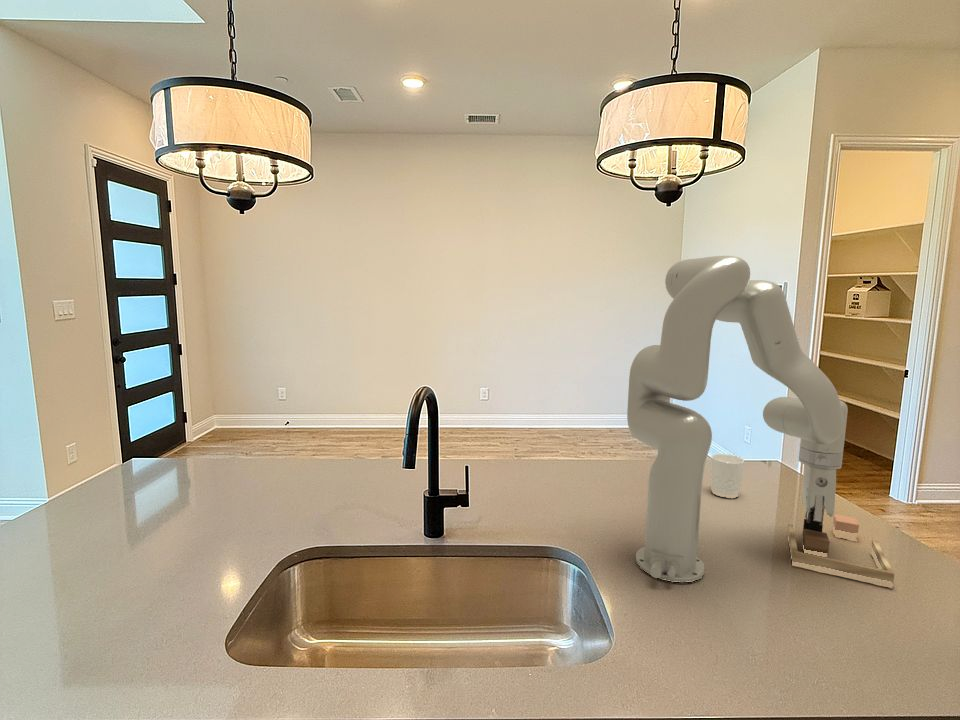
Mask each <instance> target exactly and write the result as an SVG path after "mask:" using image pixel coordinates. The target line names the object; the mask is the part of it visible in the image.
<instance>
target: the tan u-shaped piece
mask: <svg viewBox="0 0 960 720" xmlns="http://www.w3.org/2000/svg"><path fill="white" fill-rule="evenodd" d="M794 529H795V528H794V525H793V524H790V523H788V525H787V533H788V537H789V544H790V550H791V556H792V561H793V562H799V563H805V564H809V565H815V566H821V567H826V568H831V569H835V570H839V571H843V572H847V573H852V574H857V575H862V576H866V577H871V578H877V579H881V580H887V581H891V582H893V583H894V579H895V572H894V570H893V569H892V566H891V565H890V563H889V560H888V559H887V557H886V555H885V553H884V552H883V550H882V548H881V546H880V544H879V543H878V541H877V540H873V539H872V541H871V546H872V548H873V550H874V552H875V554H876V556H877V559H878V561H879V563H880V565H881V567H882V569H878V568H877V567H872V566H867V565H862V564H859V563H855V562H854V563H853V562H850V561H849V562H848V561H844V560H839V559H835V558H831V557H828V558H827V557H822V556H817V555H813V554H808V553H803V551H799V550H798V545H797V541H796V535H795V530H794Z"/></svg>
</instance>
